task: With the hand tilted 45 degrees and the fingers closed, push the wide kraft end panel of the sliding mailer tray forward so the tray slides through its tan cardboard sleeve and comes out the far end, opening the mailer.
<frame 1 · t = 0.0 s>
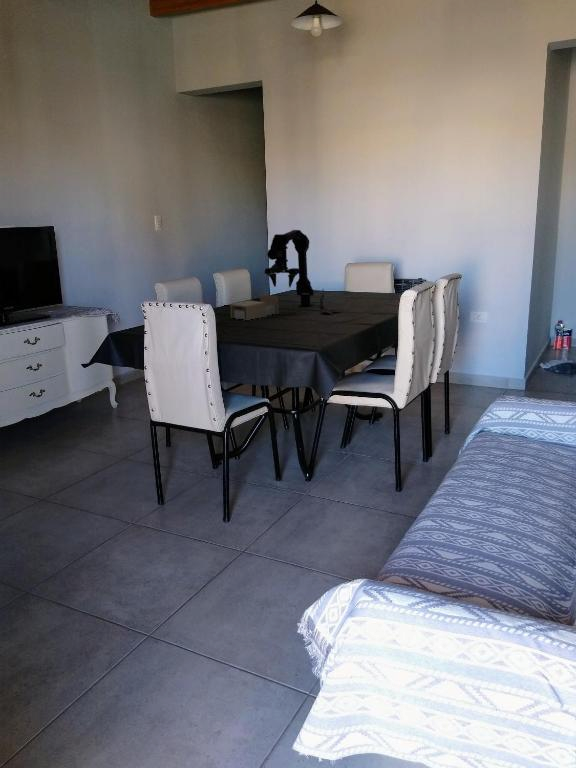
hand: (282, 287, 343), 15 cm above the table, tool pointing down, fingers open, 9 cm apart
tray: (255, 307, 341), point 5 cm above the table, slide at 0.0 cm
sleeve: (255, 316, 342), on the table
butterfly: (329, 314, 344), on the table
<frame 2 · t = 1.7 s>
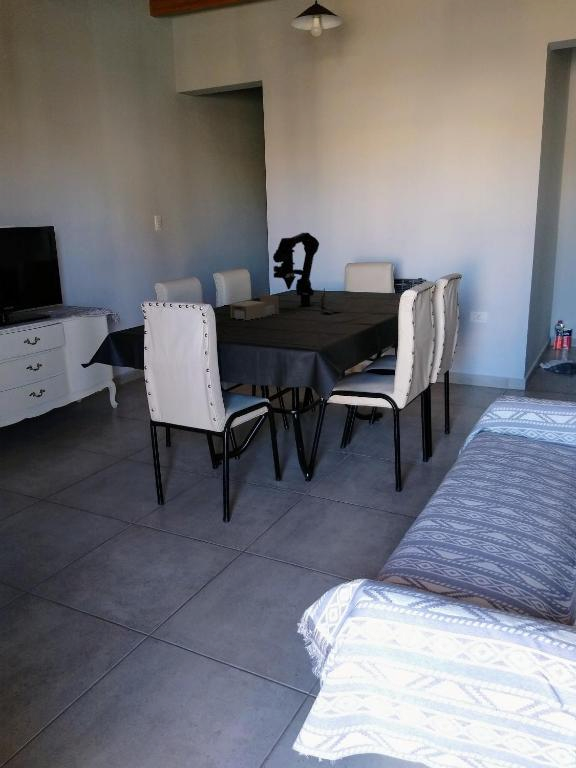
hand: (288, 289, 355), 12 cm above the table, tool pointing down, fingers closed
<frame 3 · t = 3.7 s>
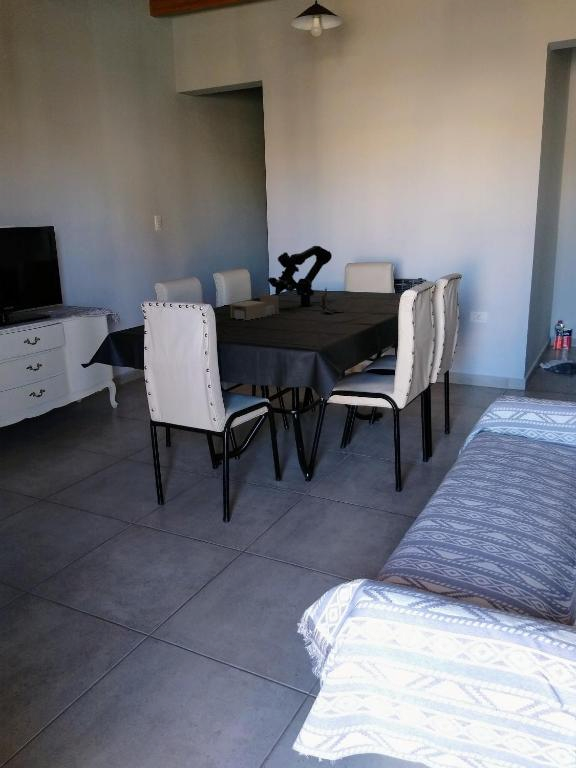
hand: (276, 294, 351), 10 cm above the table, tool tilted 45°, fingers closed
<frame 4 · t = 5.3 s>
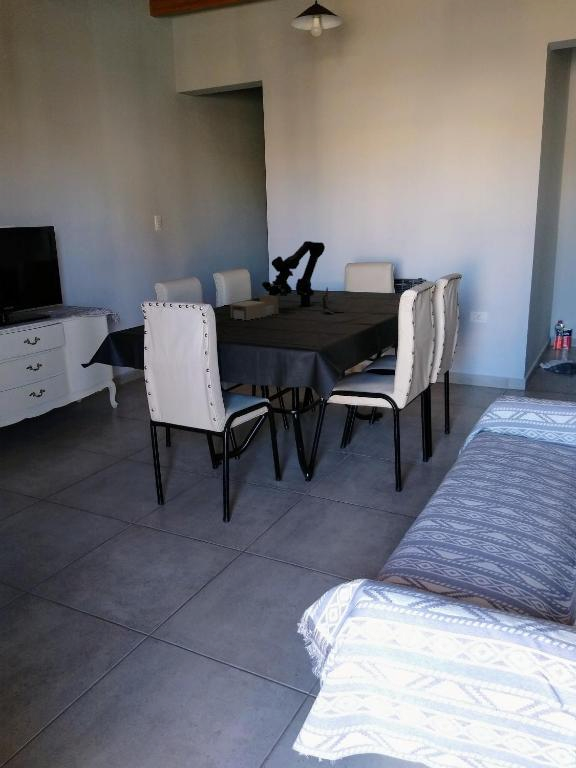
hand: (269, 299, 348), 8 cm above the table, tool tilted 45°, fingers closed, pressing on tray
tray: (254, 307, 340), point 5 cm above the table, slide at 0.4 cm, touching gripper
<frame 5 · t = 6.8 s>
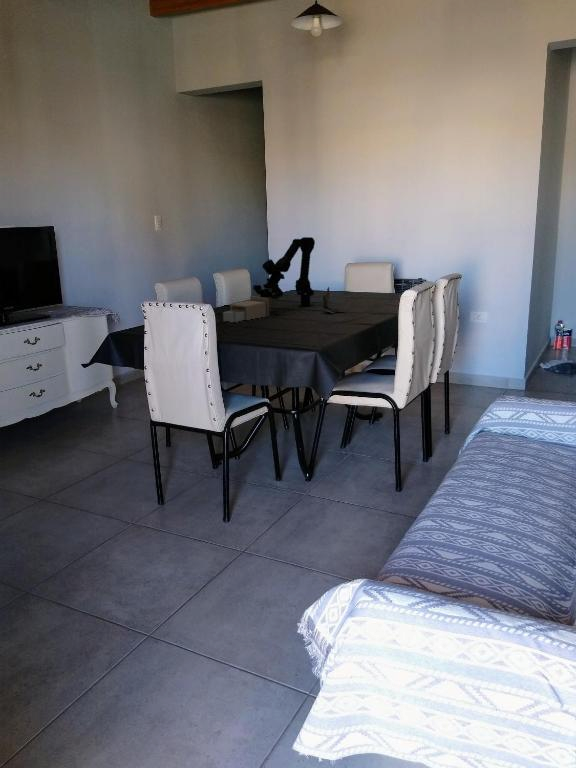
hand: (260, 302, 343), 7 cm above the table, tool tilted 45°, fingers closed
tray: (244, 309, 335), point 5 cm above the table, slide at 7.6 cm, touching gripper
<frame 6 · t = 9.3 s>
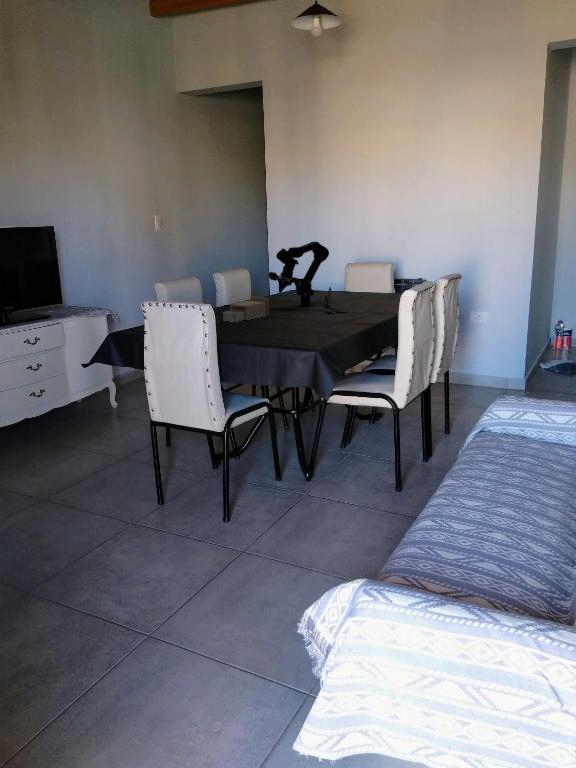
hand: (279, 292, 352), 11 cm above the table, tool tilted 35°, fingers closed
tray: (244, 309, 335), point 5 cm above the table, slide at 7.7 cm
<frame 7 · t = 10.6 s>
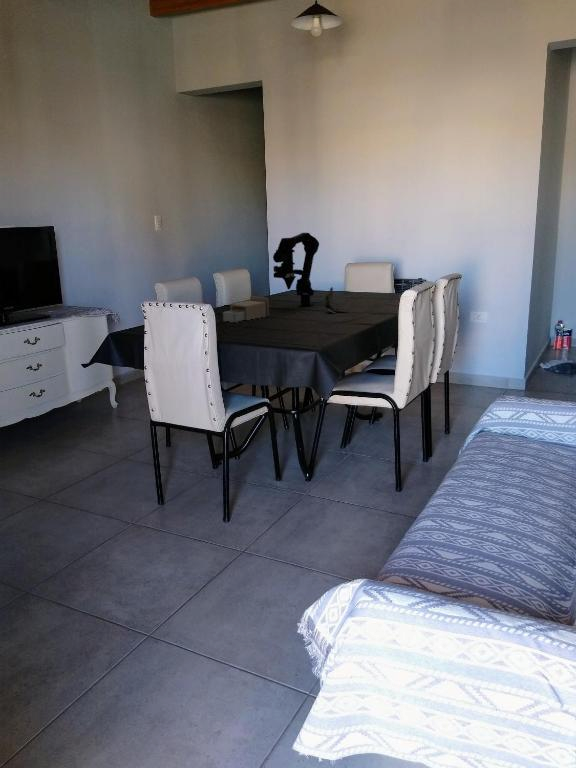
hand: (288, 289, 355), 12 cm above the table, tool pointing down, fingers closed
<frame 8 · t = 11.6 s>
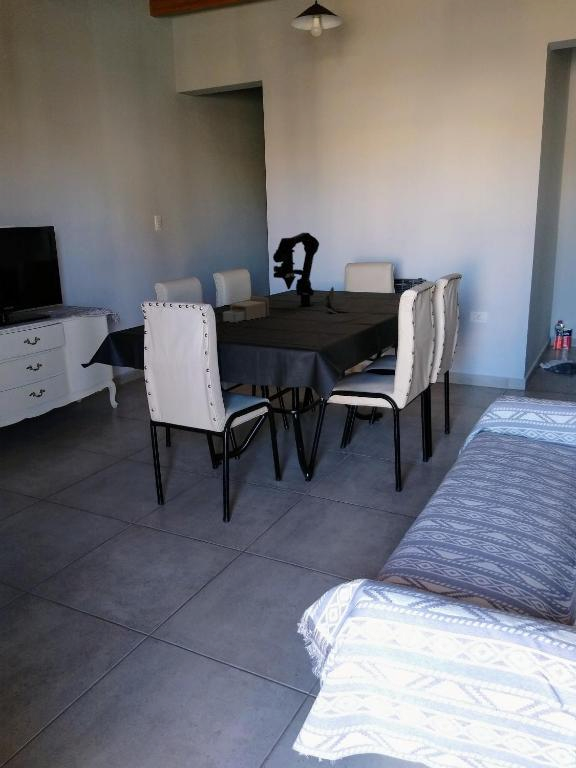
hand: (288, 289, 355), 12 cm above the table, tool pointing down, fingers closed
at the end: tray slide at 7.7 cm; the gripper is holding nothing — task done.
